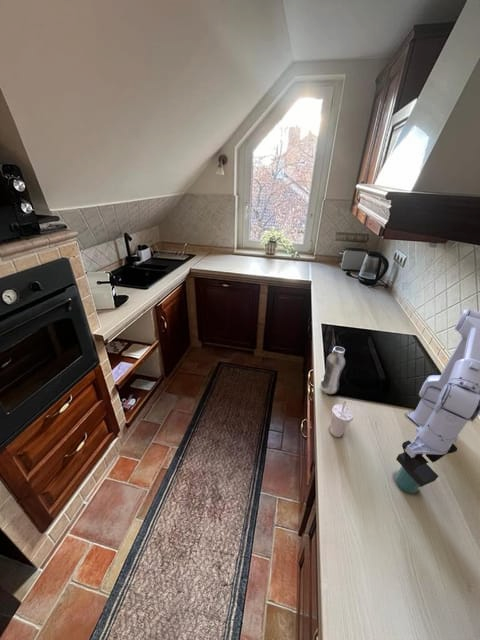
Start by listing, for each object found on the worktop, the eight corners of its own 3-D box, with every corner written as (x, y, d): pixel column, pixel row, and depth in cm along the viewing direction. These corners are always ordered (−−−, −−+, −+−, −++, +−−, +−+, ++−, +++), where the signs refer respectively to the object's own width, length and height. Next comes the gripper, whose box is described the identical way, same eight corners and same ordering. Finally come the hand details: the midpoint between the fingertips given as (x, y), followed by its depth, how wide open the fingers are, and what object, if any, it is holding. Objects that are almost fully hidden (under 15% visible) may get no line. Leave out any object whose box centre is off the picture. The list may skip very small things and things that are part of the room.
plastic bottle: (337, 398, 96) (349, 356, 86) (318, 393, 98) (329, 352, 88) (337, 386, 101) (349, 346, 91) (319, 382, 103) (329, 342, 93)
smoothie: (342, 423, 86) (352, 394, 79) (349, 440, 81) (361, 410, 74) (323, 423, 86) (332, 394, 79) (330, 441, 80) (339, 410, 73)
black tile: (395, 459, 69) (398, 454, 68) (409, 453, 70) (412, 449, 69) (420, 487, 63) (424, 482, 62) (435, 480, 64) (438, 475, 63)
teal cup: (404, 470, 73) (412, 456, 70) (422, 488, 69) (431, 475, 65) (390, 477, 71) (398, 464, 68) (408, 497, 67) (417, 483, 64)
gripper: (446, 408, 64) (425, 441, 71) (402, 422, 60) (384, 456, 66) (477, 431, 58) (450, 465, 65) (430, 449, 54) (408, 484, 61)
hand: (419, 463), depth 65 cm, fingers open, 7 cm apart
